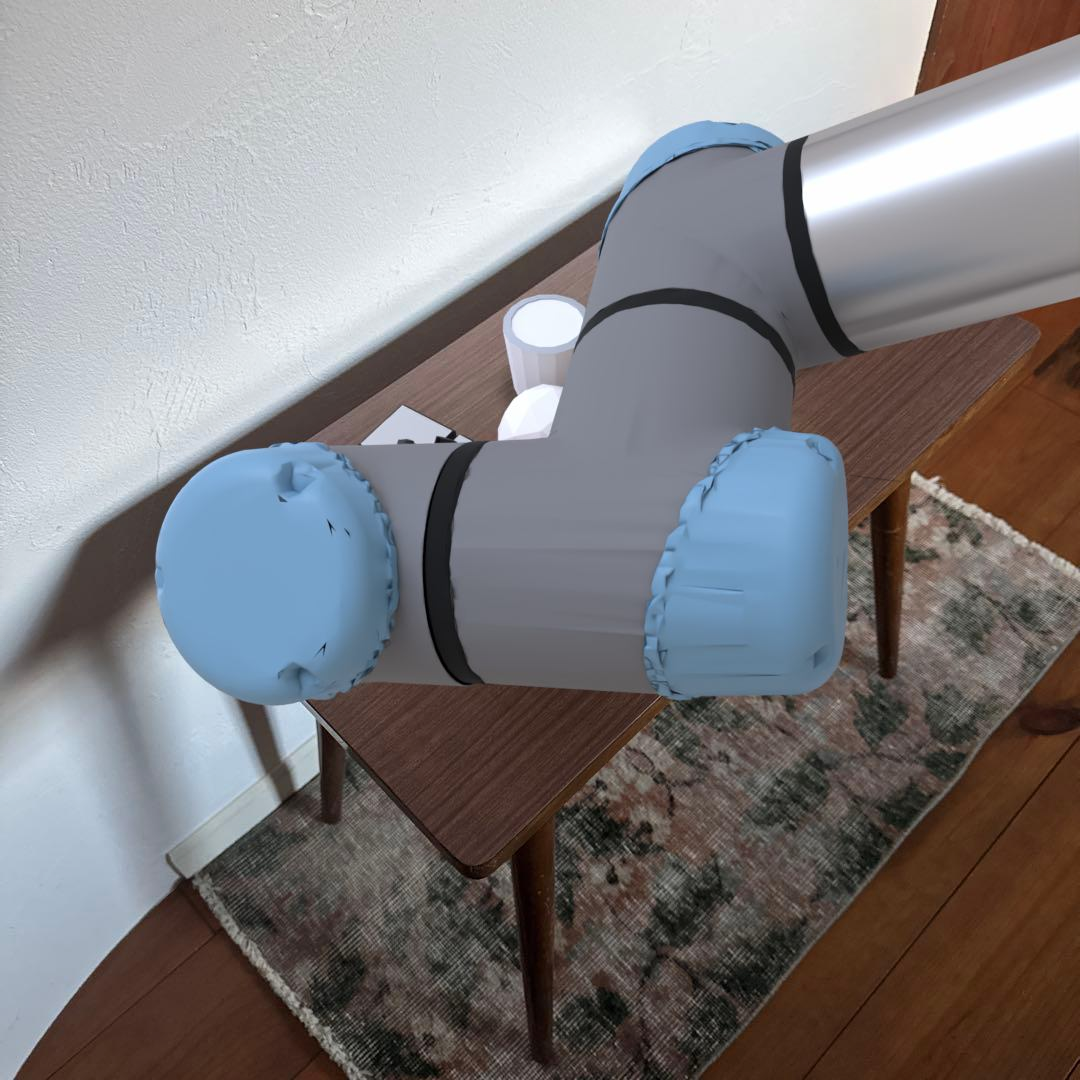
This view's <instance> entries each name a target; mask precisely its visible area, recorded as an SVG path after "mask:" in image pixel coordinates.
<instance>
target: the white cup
mask: <svg viewBox="0 0 1080 1080" xmlns="http://www.w3.org/2000/svg"><path fill="white" fill-rule="evenodd" d="M585 311H586V306H584V305H583V304H581V303H580V302H578V300H576V299H574V298H572V297H569V296H564V295H560V294H557V293H555V294H550V293H549V294H537V295H533V296H530V297H526V298H523V299H521V300H520V301H518V302H517V303H515V304H513V305H512V306H511V307H510V308H509V309H508V311H507V312H506V313H505V315H504V317H503V318H502V319H503V320H502V333H503V338H504V342H505V348H506V354H507V358H508V363H509V369H510V374H511V378H512V383H513V389H514V390H515V392H516V395H517V396H518V395H520V394H521V393H522V392H524V391H525V390H528V389H531V388H534V387H536V386H539V385H542V384H546V385H553V386H559V387H563V386H564V382H565V379H566V375H567V372H568V369H569V365H570V362H571V358H572V356H573V352H574V348H575V344H576V342H577V340H578V337H579V333H580V329H581V326H582V322H583V318H584V315H585Z"/></svg>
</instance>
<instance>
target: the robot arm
mask: <svg viewBox="0 0 1080 1080" xmlns="http://www.w3.org/2000/svg"><path fill="white" fill-rule="evenodd" d="M600 239H601V240H600V244H599V246H598V250H597V253H598V254H597V267H596V270H595V274H594V278H593V282H592V285H591V289H590V293H589V296H588V301H587V304H586V306H585V308H586V311H585V315H584V318H583V322H582V326H581V329H580V333H579V337H578V340H577V342H576V344H575V348H574V352H573V356H572V358H571V362H570V365H569V369H568V372H567V375H566V379H565V382H564V386H563V389H562V393H561V396H560V399H559V403H558V406H557V410H556V413H555V416H554V420H553V423H552V427H551V430H550V434H549V436H548V437H546V438H537V439H522V440H499V441H498V439H494V440H474V441H472V442H463V443H457V441H455V440H452V439H449V438H445V437H441V436H436V438H435V442H434V443H425V444H416V443H414V441H413V440H410V439H402V440H400V439H399V440H398V442H397V444H387V445H358V444H353V445H352V444H348V445H345V444H344V445H328V444H326V443H323V442H317V441H311V442H309V441H308V442H307V441H304V442H303V441H295V442H294V441H289V442H288V441H287V442H279V443H274V444H272V445H270V446H269V447H262V448H252V449H251V448H250V449H243V450H239V451H236V452H232V453H230V454H229V453H228V454H226V455H223V456H222V457H219V458H217V459H215V460H214V461H212V462H210V463H209V464H207V465H206V466H204V467H202V469H200V470H199V471H198V472H196V473H195V474H194V475H193V476H192V477H191V478H190V479H189V480H188V481H187V483H186V484H185V485H184V486H183V487H182V488H181V489H180V491H179V492H178V493H177V495H175V498H174V500H173V501H172V503H171V504H170V506H169V508H168V510H167V512H166V514H165V517H164V519H163V522H162V524H161V527H160V529H159V534H158V537H157V538H158V539H157V543H156V550H155V572H154V580H155V585H156V596H157V602H158V608H159V612H160V615H161V619H162V621H163V624H164V627H165V629H166V631H167V633H168V635H169V638H170V640H171V642H172V644H173V645H174V647H175V648H176V650H177V651H178V653H179V655H180V656H181V657H182V659H183V660H184V661H185V662H186V663H187V665H188V666H189V667H190V668H191V669H192V670H193V671H194V672H195V674H197V676H199V677H201V679H203V680H204V681H205V682H206V683H208V684H209V685H210V686H212V687H213V688H214V689H216V690H218V691H219V692H222V693H223V694H226V695H228V696H230V697H233V698H234V699H237V700H240V701H242V702H246V703H250V704H254V705H261V706H273V707H274V706H275V707H276V706H277V707H278V706H285V705H292V704H296V703H300V702H304V701H307V700H316V701H326V700H331V699H333V698H335V697H336V696H337V695H338V693H341V694H346V693H348V692H350V691H351V690H352V689H354V688H355V687H356V686H358V685H359V684H366V683H367V684H368V683H392V684H411V685H428V686H429V685H432V686H451V687H472V686H476V685H487V686H488V685H489V686H491V685H492V686H494V685H503V686H520V687H535V688H536V687H537V688H550V689H551V688H552V689H568V690H582V691H583V690H584V691H597V692H598V691H600V692H616V693H630V694H631V693H632V694H633V693H634V694H647V695H648V694H649V695H658V696H661V697H662V696H663V697H665V698H666V699H668V700H674V701H691V700H692V699H693V698H694V699H695V698H697V699H698V698H701V697H732V696H734V697H736V696H738V697H739V696H741V697H743V696H745V697H746V696H747V697H748V696H799V695H804V694H809V693H811V692H813V691H815V690H817V689H819V688H820V687H822V686H823V685H824V684H825V683H827V682H828V681H829V680H830V679H831V677H832V676H833V675H834V673H835V672H836V670H837V668H838V667H839V664H840V662H841V659H842V656H843V650H844V646H845V639H846V638H845V637H846V629H847V619H848V617H847V616H848V593H849V591H848V590H849V584H848V582H849V581H848V567H849V547H850V546H849V541H850V540H849V507H848V492H847V490H848V489H847V479H846V471H845V464H844V460H843V456H842V454H841V452H840V450H839V449H838V447H837V446H836V445H835V444H834V443H833V441H832V440H830V439H829V438H827V437H825V436H823V435H820V434H816V433H809V432H808V433H806V432H805V433H803V432H796V431H792V420H793V405H794V399H795V392H796V377H797V373H798V371H801V370H805V369H808V368H812V367H817V366H820V365H825V364H828V363H832V362H833V363H834V362H836V361H840V360H844V359H848V358H850V357H855V356H859V355H861V354H865V353H867V352H869V351H874V350H878V349H881V348H886V347H889V346H892V345H893V346H894V345H897V344H901V343H905V342H909V341H912V340H917V339H920V338H924V337H928V336H932V335H935V334H940V333H944V332H948V331H951V330H955V329H959V328H962V327H968V326H971V325H975V324H979V323H983V322H987V321H990V320H994V319H999V318H1001V317H1006V316H1010V315H1014V314H1018V313H1022V312H1026V311H1030V310H1033V309H1037V308H1041V307H1045V306H1050V305H1053V304H1057V303H1061V302H1065V301H1069V300H1073V299H1077V298H1080V33H1079V34H1076V35H1074V36H1072V37H1071V36H1070V37H1068V38H1066V39H1062V40H1060V41H1058V42H1054V43H1053V44H1050V45H1047V46H1045V47H1042V48H1039V49H1037V50H1034V51H1030V52H1028V53H1025V54H1023V55H1020V56H1017V57H1015V58H1012V59H1009V60H1007V61H1003V62H1001V63H998V64H996V65H993V66H991V67H989V68H988V67H987V68H985V69H983V70H980V71H977V72H974V73H972V74H969V75H967V76H964V77H962V78H958V79H956V80H953V81H951V82H947V83H945V84H943V85H942V84H941V85H939V86H937V87H934V88H931V89H928V90H926V91H923V92H921V93H918V94H915V95H913V96H910V97H907V98H904V99H902V100H898V101H897V102H894V103H890V104H888V105H886V106H882V107H881V108H878V109H875V110H872V111H869V112H867V113H864V114H861V115H859V116H856V117H853V118H851V119H849V120H848V119H847V120H845V121H843V122H840V123H837V124H834V125H832V126H828V127H827V128H823V129H821V130H818V131H816V132H813V133H810V134H807V135H805V136H802V137H799V138H795V139H793V140H790V141H787V142H785V141H784V140H783V139H781V138H780V137H778V136H777V135H776V134H774V133H772V132H770V131H768V130H766V129H765V128H763V127H760V126H757V125H754V124H751V123H747V122H739V123H736V122H729V121H713V120H709V119H707V120H706V119H705V120H700V121H695V122H692V123H688V124H685V125H683V126H682V125H681V126H679V127H677V128H675V129H672V130H671V131H668V132H667V133H666V134H664V135H662V136H661V137H659V138H658V139H657V140H656V141H654V142H653V143H652V144H650V145H649V146H648V147H647V148H646V149H645V150H644V151H643V152H642V154H640V156H639V158H638V159H637V160H636V162H635V163H634V164H633V166H632V167H631V169H630V171H629V172H628V175H627V177H626V179H625V181H624V183H623V186H622V189H621V192H620V194H619V196H618V199H617V200H616V201H615V203H614V205H613V207H612V208H611V211H610V213H609V214H608V218H607V219H606V221H605V225H604V227H603V231H602V236H601V238H600Z"/></svg>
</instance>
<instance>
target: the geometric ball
mask: <svg viewBox="0 0 1080 1080" xmlns="http://www.w3.org/2000/svg"><path fill="white" fill-rule="evenodd" d="M562 389H563V387H559V386H553V385H546V384H542V385H539V386H536V387H534V388H531V389H528V390H525V391H524V392H522V393H521V394H520V395H518V394H517V396H515V397H514V398H513V399H512V400H511V402H510V403H509V405H508V406H507V408H506V409H505V411H504V413H503V415H502V417H501V420H500V422H499V425H498V428H497V441H499V440H522V439H537V438H546V437H548V436H549V434H550V430H551V427H552V423H553V420H554V416H555V413H556V410H557V406H558V403H559V399H560V396H561V393H562Z"/></svg>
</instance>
